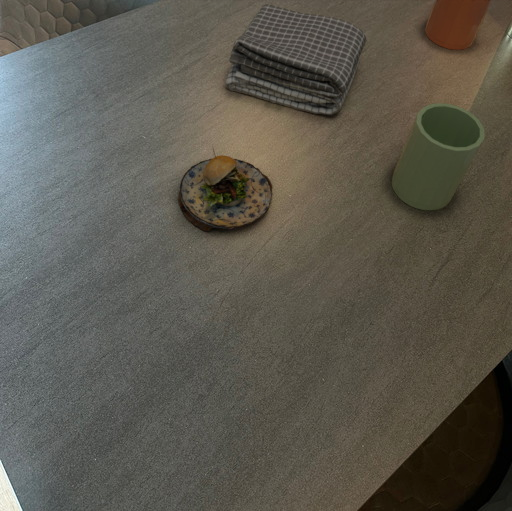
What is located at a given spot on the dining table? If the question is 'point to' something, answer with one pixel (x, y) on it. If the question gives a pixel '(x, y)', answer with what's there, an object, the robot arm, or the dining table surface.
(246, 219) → the burger
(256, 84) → the towel
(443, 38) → the terracotta cup
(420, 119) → the sage cup
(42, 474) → the dining table surface
